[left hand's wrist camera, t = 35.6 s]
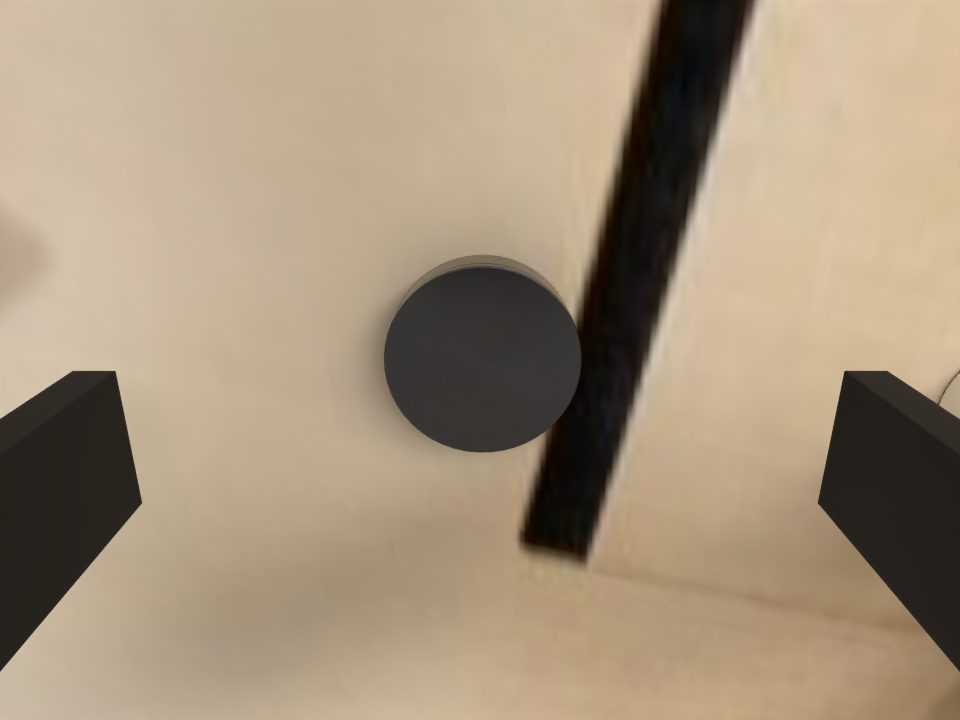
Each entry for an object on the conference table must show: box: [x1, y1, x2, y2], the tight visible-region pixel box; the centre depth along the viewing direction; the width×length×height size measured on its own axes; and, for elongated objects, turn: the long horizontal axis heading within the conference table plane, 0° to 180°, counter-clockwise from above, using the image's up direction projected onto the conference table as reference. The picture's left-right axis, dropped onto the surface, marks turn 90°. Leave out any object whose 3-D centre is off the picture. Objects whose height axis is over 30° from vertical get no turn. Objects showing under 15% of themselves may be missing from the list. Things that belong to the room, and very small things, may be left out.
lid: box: [384, 255, 582, 452], centre depth 20 cm, size 6×6×2 cm
